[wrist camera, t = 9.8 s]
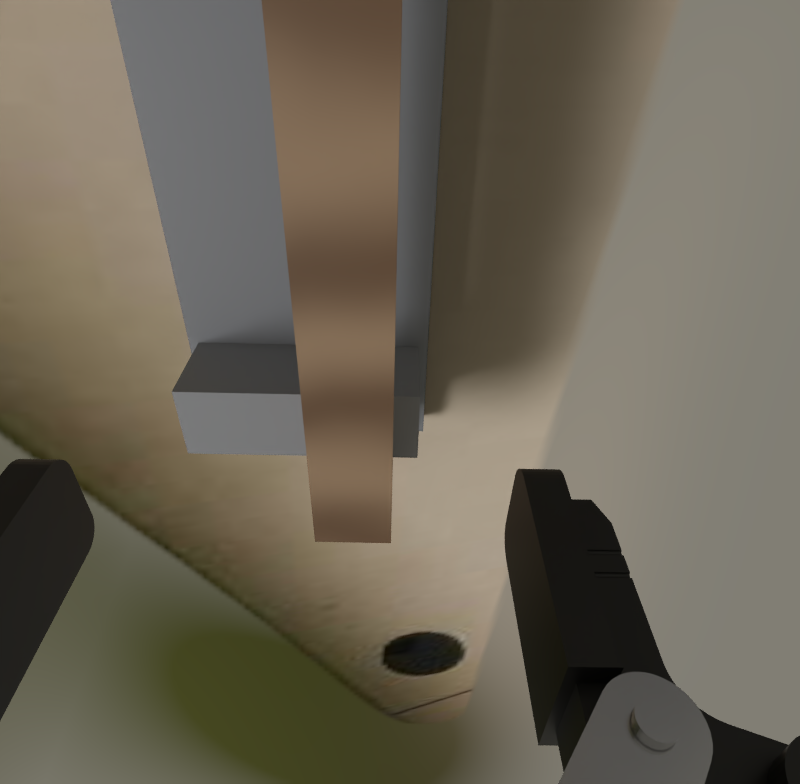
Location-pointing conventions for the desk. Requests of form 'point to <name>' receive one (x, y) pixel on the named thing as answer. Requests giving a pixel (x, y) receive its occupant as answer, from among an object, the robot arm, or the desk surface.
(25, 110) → the desk surface
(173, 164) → the notch rack
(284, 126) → the wooden plank
